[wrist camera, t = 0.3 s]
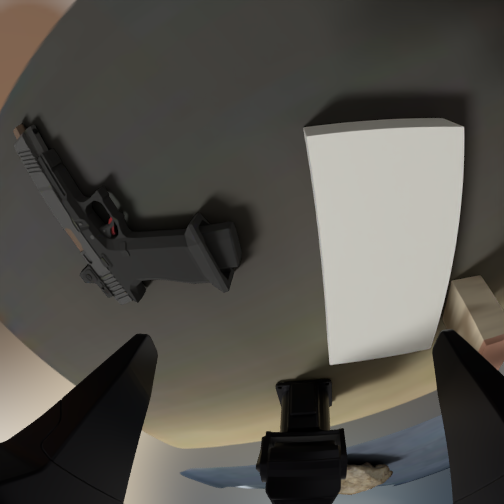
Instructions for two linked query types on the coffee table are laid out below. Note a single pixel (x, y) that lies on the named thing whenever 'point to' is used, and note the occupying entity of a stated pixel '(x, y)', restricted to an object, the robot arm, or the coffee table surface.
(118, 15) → the coffee table surface
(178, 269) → the handgun
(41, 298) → the coffee table surface
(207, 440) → the coffee table surface
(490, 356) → the brown and pink block
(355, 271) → the panel
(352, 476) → the fossil
